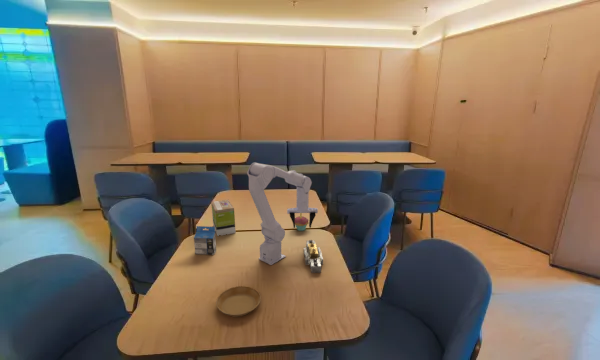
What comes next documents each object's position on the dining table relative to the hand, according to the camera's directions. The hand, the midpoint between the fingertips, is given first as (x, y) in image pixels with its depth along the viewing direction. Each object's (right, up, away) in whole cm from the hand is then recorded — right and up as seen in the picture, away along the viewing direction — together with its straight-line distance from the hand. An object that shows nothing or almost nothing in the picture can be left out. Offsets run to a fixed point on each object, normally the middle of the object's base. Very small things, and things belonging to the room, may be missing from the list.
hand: (302, 226), depth 136 cm
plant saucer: (-22, -20, -40) cm, 50 cm away
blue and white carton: (-45, -11, -6) cm, 46 cm away
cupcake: (-1, -5, +20) cm, 21 cm away
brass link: (+5, -12, -10) cm, 16 cm away
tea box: (-43, -5, +19) cm, 47 cm away
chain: (+5, -12, -10) cm, 17 cm away
